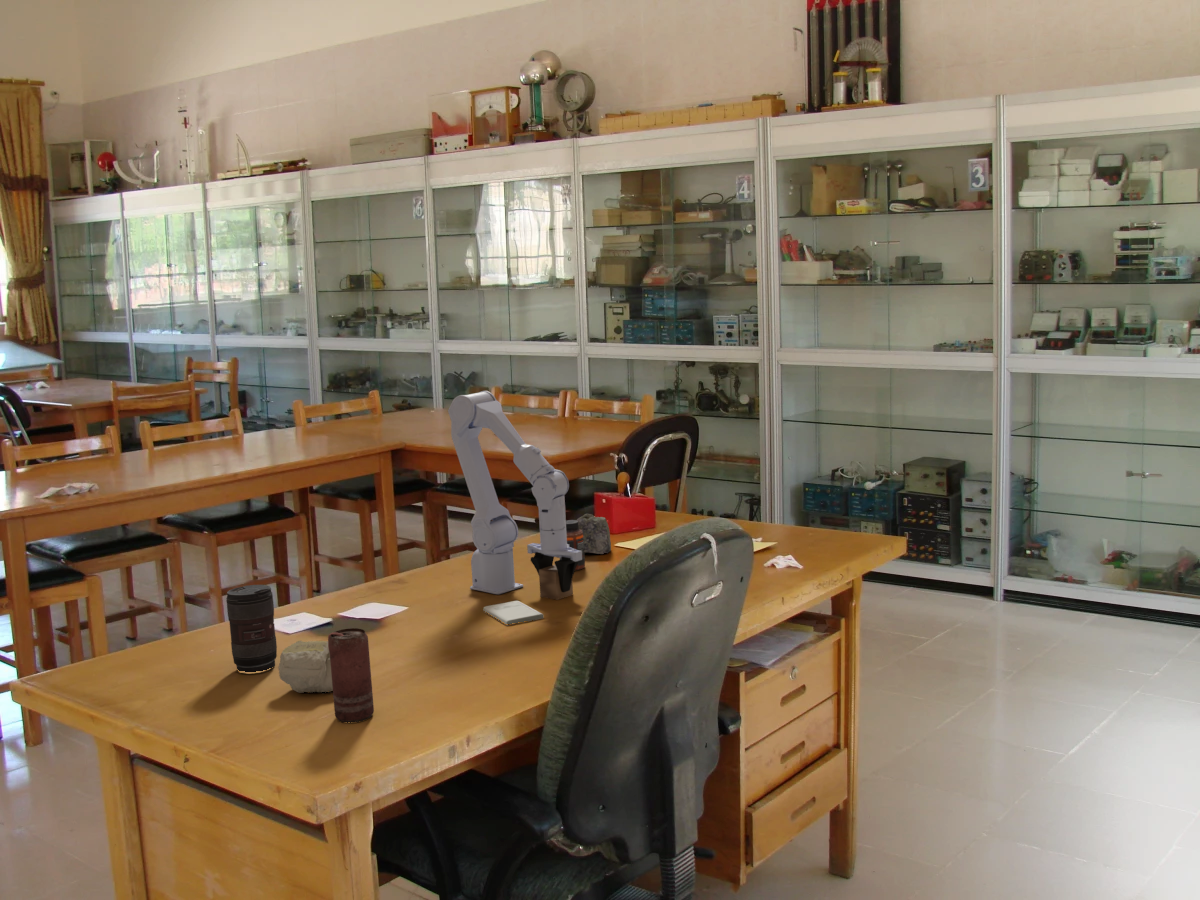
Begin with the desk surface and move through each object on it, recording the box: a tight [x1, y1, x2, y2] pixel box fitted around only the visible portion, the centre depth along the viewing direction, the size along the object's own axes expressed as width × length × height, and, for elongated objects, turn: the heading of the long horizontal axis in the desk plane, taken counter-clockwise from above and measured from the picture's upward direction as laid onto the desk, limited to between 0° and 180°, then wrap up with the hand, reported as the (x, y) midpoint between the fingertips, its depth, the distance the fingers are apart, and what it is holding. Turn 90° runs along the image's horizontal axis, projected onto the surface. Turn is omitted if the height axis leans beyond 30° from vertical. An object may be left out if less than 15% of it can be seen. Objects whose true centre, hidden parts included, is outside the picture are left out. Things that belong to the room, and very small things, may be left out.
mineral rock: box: [576, 513, 612, 555], centre depth 286 cm, size 13×11×10 cm
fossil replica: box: [277, 640, 333, 694], centre depth 198 cm, size 12×8×10 cm
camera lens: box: [225, 584, 278, 672], centre depth 210 cm, size 8×8×15 cm
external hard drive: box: [482, 600, 545, 625], centre depth 237 cm, size 2×8×12 cm
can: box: [327, 627, 375, 724], centre depth 184 cm, size 6×6×14 cm
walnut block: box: [538, 564, 574, 601], centre depth 249 cm, size 5×5×6 cm
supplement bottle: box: [559, 519, 586, 571], centre depth 271 cm, size 6×6×11 cm
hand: (556, 589), depth 249 cm, fingers closed on walnut block, 5 cm apart
